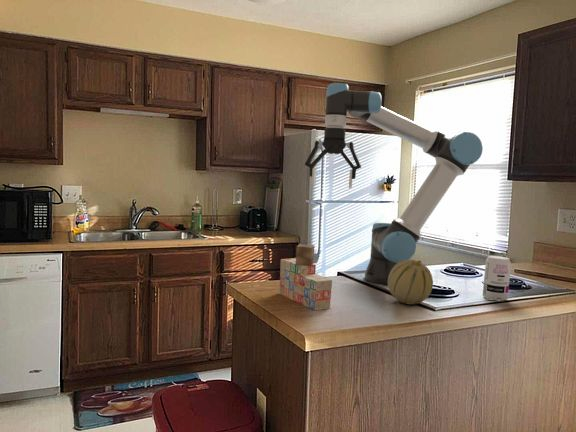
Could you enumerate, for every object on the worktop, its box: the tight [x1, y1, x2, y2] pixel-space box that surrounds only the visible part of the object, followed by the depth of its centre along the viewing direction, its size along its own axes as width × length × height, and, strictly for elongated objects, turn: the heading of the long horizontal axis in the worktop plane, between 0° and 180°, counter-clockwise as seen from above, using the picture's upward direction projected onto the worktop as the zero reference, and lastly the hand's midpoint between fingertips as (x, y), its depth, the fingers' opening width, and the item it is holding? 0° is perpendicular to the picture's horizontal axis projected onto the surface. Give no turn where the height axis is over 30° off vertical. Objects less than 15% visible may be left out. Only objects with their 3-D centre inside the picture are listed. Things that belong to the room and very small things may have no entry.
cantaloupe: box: [387, 259, 434, 305], centre depth 160 cm, size 15×15×15 cm
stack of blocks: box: [279, 257, 333, 311], centre depth 157 cm, size 21×6×12 cm, turn 32°
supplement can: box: [482, 255, 512, 301], centre depth 172 cm, size 8×8×15 cm
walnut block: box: [295, 243, 315, 266], centre depth 156 cm, size 5×5×6 cm
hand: (331, 187), depth 175 cm, fingers open, 13 cm apart
